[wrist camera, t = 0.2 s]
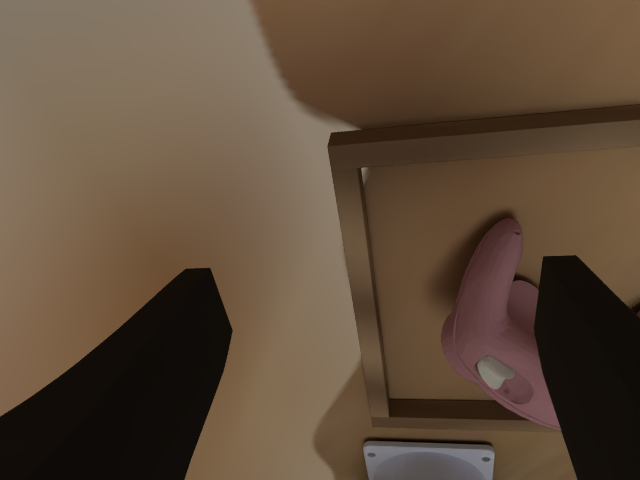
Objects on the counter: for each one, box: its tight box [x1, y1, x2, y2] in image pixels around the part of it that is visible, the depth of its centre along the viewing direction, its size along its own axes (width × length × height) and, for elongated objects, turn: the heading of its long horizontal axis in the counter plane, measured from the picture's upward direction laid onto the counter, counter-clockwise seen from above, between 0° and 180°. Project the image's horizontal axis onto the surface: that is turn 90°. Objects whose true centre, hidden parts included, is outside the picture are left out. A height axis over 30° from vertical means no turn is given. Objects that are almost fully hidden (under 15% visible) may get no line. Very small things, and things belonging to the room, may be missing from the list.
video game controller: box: [441, 218, 640, 430], centre depth 21 cm, size 10×5×7 cm, turn 67°
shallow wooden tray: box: [328, 105, 640, 432], centre depth 22 cm, size 18×24×1 cm
